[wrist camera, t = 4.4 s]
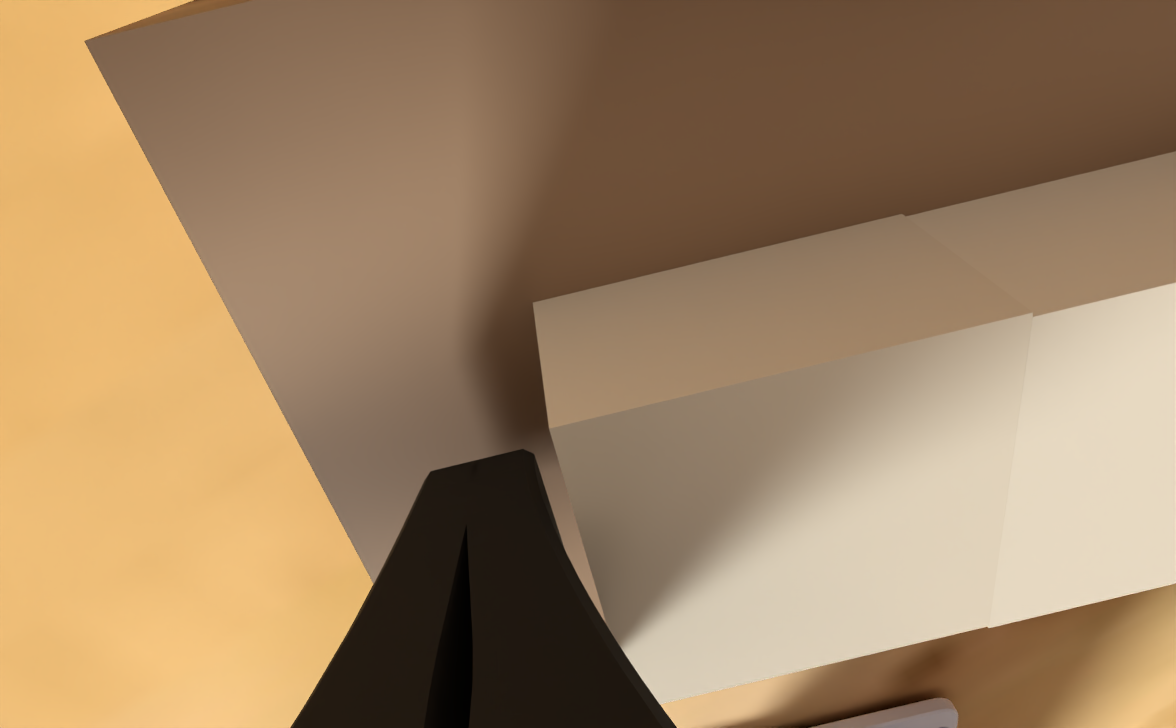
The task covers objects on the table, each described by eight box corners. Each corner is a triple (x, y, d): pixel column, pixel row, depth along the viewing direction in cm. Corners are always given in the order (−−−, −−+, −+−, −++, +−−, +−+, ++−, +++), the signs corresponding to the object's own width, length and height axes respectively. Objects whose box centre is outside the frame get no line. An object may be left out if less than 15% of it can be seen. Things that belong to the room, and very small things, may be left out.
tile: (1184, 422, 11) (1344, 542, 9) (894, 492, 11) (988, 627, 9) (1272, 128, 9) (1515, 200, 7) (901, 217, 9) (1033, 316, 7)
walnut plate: (1106, 458, 16) (1225, 565, 13) (463, 611, 16) (460, 747, 13) (1274, -260, 9) (1567, -318, 7) (189, 2, 9) (84, 41, 7)
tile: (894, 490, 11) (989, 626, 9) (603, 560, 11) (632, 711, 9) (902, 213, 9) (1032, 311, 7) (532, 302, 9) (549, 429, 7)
